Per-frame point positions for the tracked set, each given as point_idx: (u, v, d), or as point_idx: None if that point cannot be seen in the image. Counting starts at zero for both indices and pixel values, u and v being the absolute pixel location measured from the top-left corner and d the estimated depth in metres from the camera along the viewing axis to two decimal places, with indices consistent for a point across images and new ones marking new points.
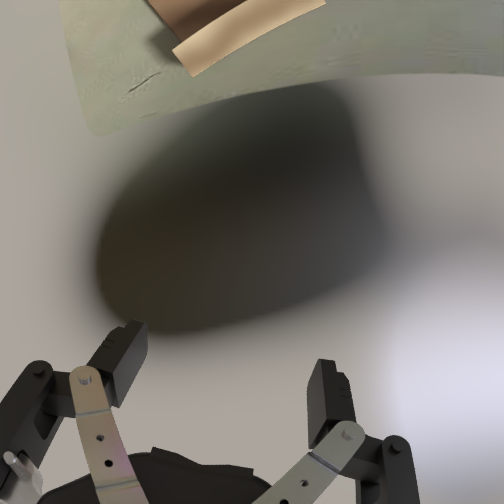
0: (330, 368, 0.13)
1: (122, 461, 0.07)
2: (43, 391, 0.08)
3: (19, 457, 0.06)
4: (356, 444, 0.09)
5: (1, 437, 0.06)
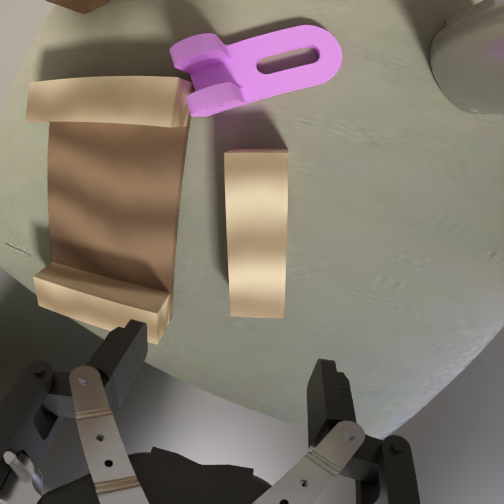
0: (330, 368, 0.13)
1: (122, 461, 0.07)
2: (42, 391, 0.08)
3: (19, 457, 0.06)
4: (356, 444, 0.09)
5: (1, 437, 0.06)
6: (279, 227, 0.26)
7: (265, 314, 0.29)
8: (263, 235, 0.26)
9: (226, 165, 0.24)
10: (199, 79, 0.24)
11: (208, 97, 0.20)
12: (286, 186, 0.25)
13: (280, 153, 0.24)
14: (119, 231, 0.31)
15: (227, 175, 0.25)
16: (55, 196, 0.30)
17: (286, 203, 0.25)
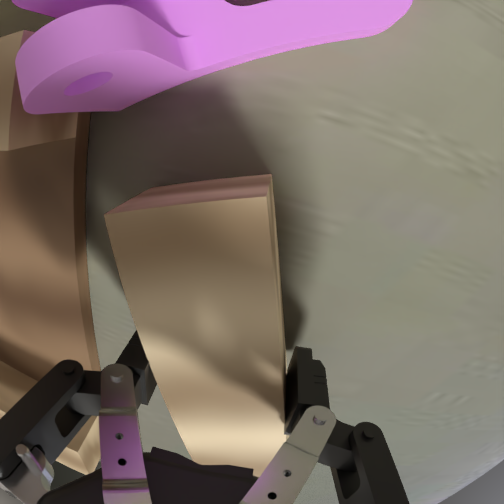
0: (306, 355, 0.13)
1: (137, 462, 0.07)
2: (69, 391, 0.09)
3: (33, 451, 0.07)
4: (326, 428, 0.09)
5: (17, 429, 0.06)
6: (263, 369, 0.11)
7: (256, 475, 0.14)
8: (230, 384, 0.11)
9: (115, 244, 0.09)
10: None
11: (44, 53, 0.05)
12: (270, 286, 0.09)
13: (244, 200, 0.09)
14: (14, 318, 0.16)
15: (123, 268, 0.10)
16: None
17: (275, 324, 0.10)
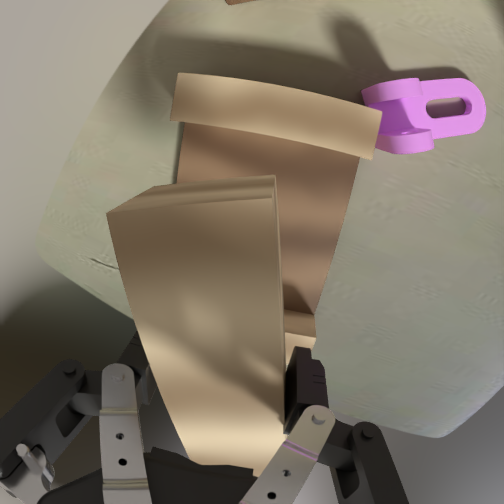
0: (305, 355, 0.13)
1: (137, 462, 0.07)
2: (70, 391, 0.09)
3: (33, 450, 0.07)
4: (325, 428, 0.09)
5: (18, 429, 0.07)
6: (264, 371, 0.11)
7: None
8: (230, 386, 0.11)
9: (117, 244, 0.09)
10: None
11: (421, 143, 0.20)
12: (274, 288, 0.09)
13: (249, 201, 0.09)
14: None
15: (124, 267, 0.10)
16: None
17: (277, 326, 0.10)
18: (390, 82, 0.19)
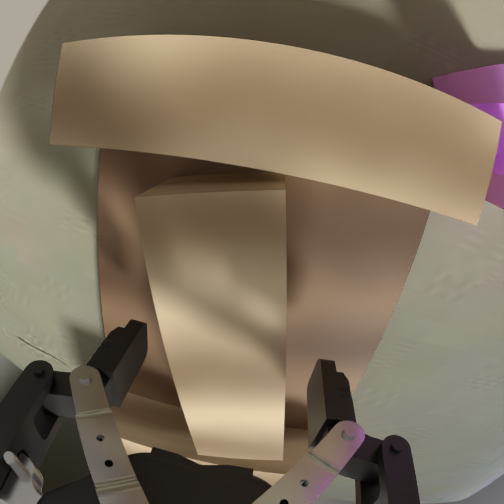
0: (330, 368, 0.13)
1: (122, 461, 0.07)
2: (43, 391, 0.08)
3: (19, 457, 0.06)
4: (356, 444, 0.09)
5: (1, 437, 0.06)
6: (269, 347, 0.12)
7: (252, 456, 0.15)
8: (237, 361, 0.12)
9: (143, 225, 0.11)
10: None
11: None
12: (283, 269, 0.11)
13: (265, 192, 0.10)
14: None
15: (148, 247, 0.11)
16: (117, 295, 0.17)
17: (284, 304, 0.11)
18: None
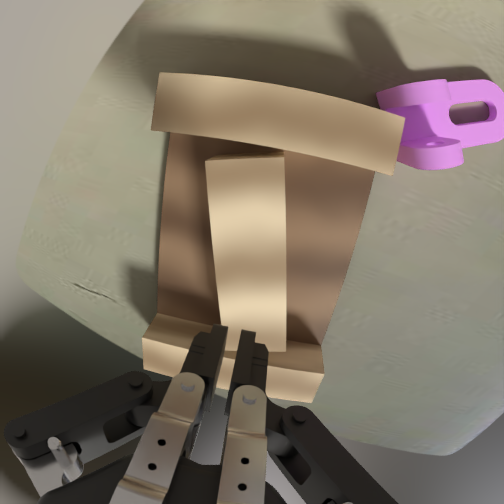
0: (249, 338, 0.14)
1: (166, 471, 0.07)
2: (128, 404, 0.09)
3: (68, 446, 0.07)
4: (254, 408, 0.10)
5: (58, 423, 0.07)
6: (276, 248, 0.21)
7: None
8: (257, 259, 0.22)
9: (208, 176, 0.20)
10: None
11: (452, 157, 0.16)
12: (283, 199, 0.20)
13: (274, 158, 0.19)
14: None
15: (210, 188, 0.20)
16: (173, 234, 0.26)
17: (284, 219, 0.21)
18: (416, 84, 0.15)
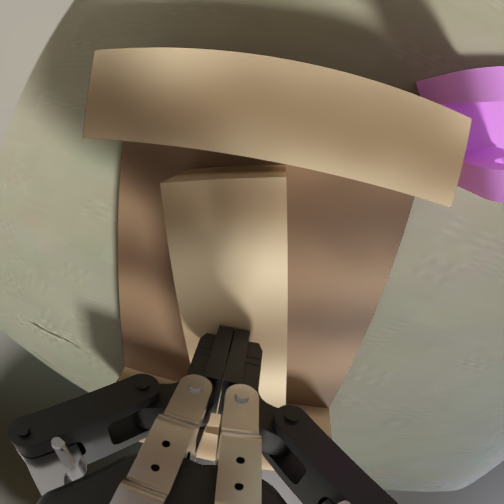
0: (243, 337, 0.14)
1: (169, 473, 0.07)
2: (134, 406, 0.09)
3: (71, 446, 0.07)
4: (246, 407, 0.10)
5: (63, 423, 0.07)
6: (273, 314, 0.14)
7: None
8: (245, 328, 0.15)
9: (166, 207, 0.13)
10: None
11: None
12: (284, 243, 0.13)
13: (270, 178, 0.12)
14: None
15: (170, 226, 0.13)
16: (134, 276, 0.19)
17: (285, 274, 0.13)
18: (491, 69, 0.08)
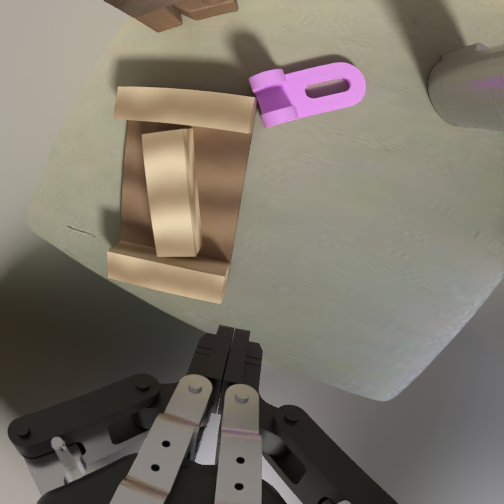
0: (243, 337, 0.14)
1: (169, 473, 0.07)
2: (134, 406, 0.09)
3: (72, 446, 0.07)
4: (246, 407, 0.10)
5: (63, 423, 0.07)
6: (181, 182, 0.35)
7: (181, 253, 0.38)
8: (171, 190, 0.35)
9: (143, 142, 0.33)
10: (263, 99, 0.34)
11: (281, 116, 0.29)
12: (183, 152, 0.33)
13: (177, 130, 0.32)
14: None
15: (144, 149, 0.33)
16: (130, 183, 0.39)
17: (184, 165, 0.34)
18: (254, 76, 0.28)
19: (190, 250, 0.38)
